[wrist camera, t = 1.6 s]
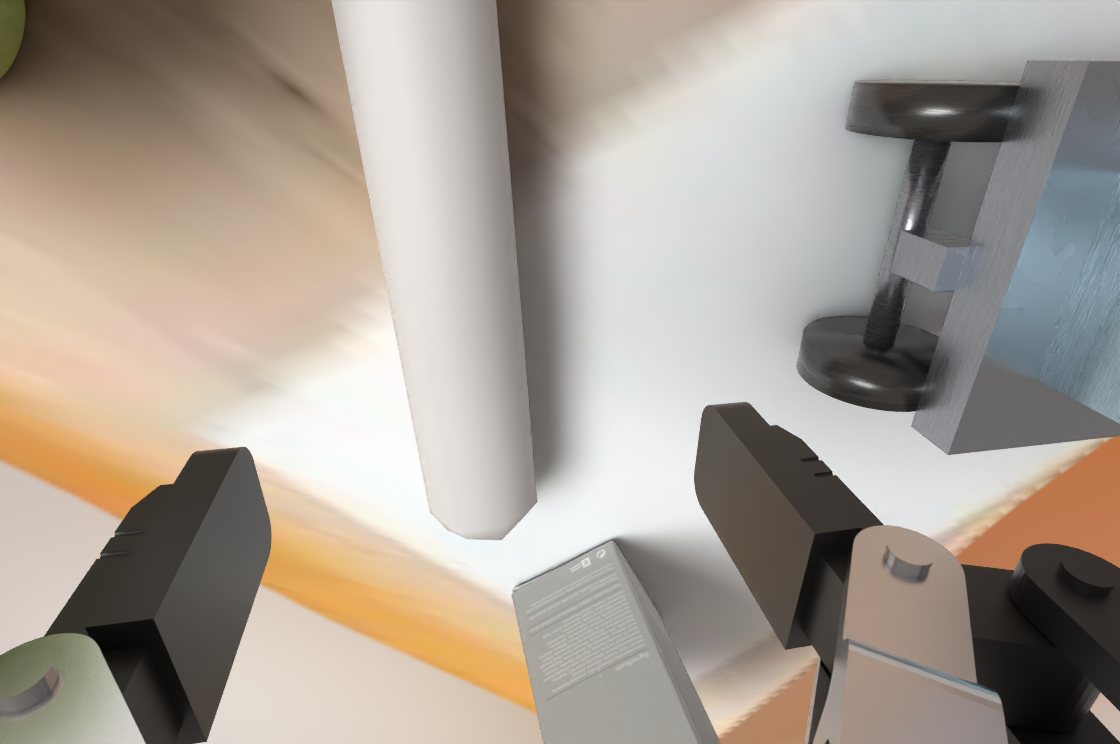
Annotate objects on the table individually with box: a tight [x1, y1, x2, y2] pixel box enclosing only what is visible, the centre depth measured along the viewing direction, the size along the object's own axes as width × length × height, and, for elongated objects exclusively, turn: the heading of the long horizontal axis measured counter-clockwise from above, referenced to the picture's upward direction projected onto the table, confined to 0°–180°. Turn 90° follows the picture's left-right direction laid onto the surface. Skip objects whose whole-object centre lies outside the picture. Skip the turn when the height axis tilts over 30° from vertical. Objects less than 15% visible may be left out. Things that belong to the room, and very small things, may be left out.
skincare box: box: [512, 541, 721, 744], centre depth 28 cm, size 8×7×16 cm
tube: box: [331, 0, 537, 540], centre depth 22 cm, size 5×5×25 cm
